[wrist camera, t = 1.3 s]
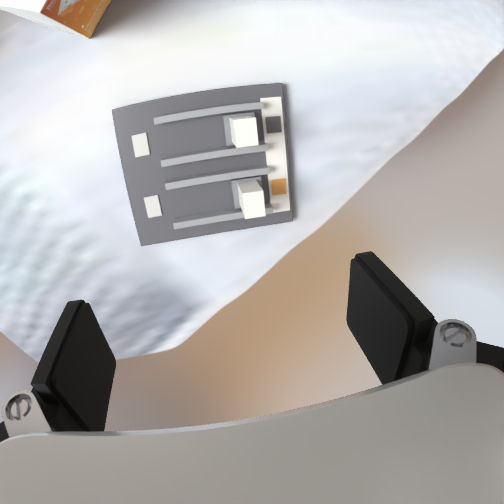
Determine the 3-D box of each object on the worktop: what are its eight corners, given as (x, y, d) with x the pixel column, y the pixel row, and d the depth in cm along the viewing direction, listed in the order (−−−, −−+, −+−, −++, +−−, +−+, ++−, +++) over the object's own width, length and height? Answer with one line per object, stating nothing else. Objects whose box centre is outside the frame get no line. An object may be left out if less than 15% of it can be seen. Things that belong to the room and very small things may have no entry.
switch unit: (279, 83, 31) (285, 82, 29) (290, 218, 38) (296, 225, 36) (114, 109, 29) (108, 110, 27) (142, 242, 37) (139, 251, 35)
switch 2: (259, 174, 34) (269, 186, 30) (262, 202, 36) (271, 217, 31) (230, 179, 34) (235, 191, 30) (234, 206, 36) (239, 222, 31)
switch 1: (253, 111, 31) (262, 113, 27) (256, 140, 33) (265, 147, 28) (222, 115, 31) (226, 117, 26) (226, 144, 32) (230, 152, 28)
